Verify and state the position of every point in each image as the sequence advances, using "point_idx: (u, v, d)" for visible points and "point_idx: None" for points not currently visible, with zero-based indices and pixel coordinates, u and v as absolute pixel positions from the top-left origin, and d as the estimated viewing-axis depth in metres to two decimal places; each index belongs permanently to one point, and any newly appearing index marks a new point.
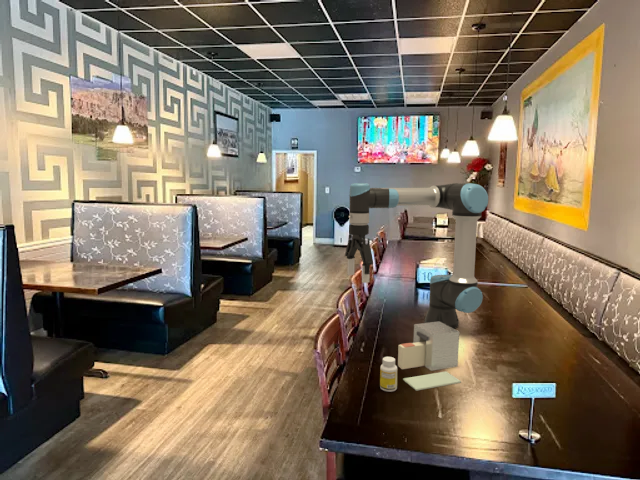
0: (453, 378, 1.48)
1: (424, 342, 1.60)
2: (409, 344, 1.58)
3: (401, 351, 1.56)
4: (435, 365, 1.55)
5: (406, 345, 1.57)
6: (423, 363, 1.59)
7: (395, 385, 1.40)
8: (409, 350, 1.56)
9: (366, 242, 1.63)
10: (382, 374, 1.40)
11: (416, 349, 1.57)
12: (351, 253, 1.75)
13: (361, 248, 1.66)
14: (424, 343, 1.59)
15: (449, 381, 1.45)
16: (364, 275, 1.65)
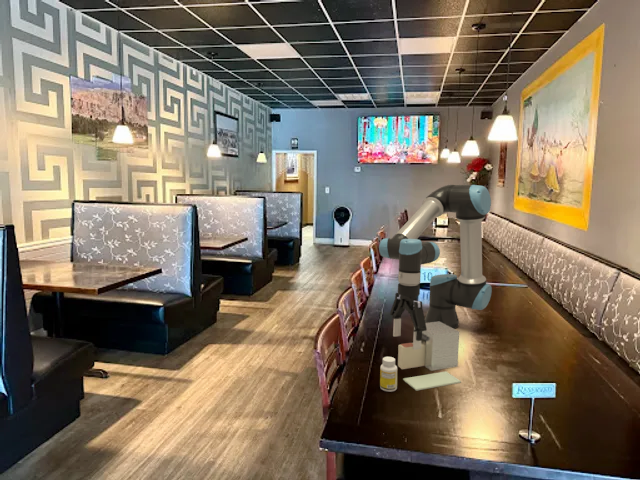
0: (453, 378, 1.48)
1: (424, 342, 1.60)
2: (409, 344, 1.58)
3: (401, 351, 1.56)
4: (435, 365, 1.55)
5: (406, 345, 1.57)
6: (423, 363, 1.59)
7: (395, 385, 1.40)
8: (409, 350, 1.56)
9: (418, 305, 1.48)
10: (382, 374, 1.40)
11: None
12: (398, 313, 1.60)
13: (412, 311, 1.51)
14: (424, 343, 1.59)
15: (449, 381, 1.45)
16: (416, 341, 1.49)
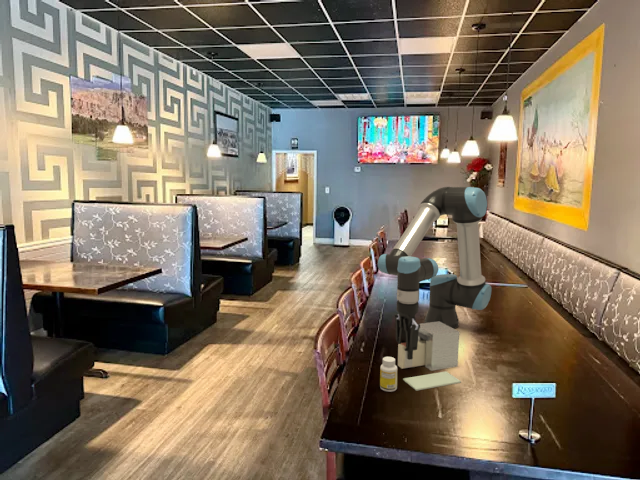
0: (453, 378, 1.48)
1: (424, 341, 1.60)
2: None
3: (401, 350, 1.56)
4: (435, 365, 1.55)
5: None
6: (423, 362, 1.59)
7: (395, 385, 1.40)
8: None
9: (416, 328, 1.50)
10: (382, 374, 1.40)
11: None
12: (402, 336, 1.58)
13: (408, 330, 1.54)
14: (424, 342, 1.59)
15: (449, 381, 1.45)
16: (407, 360, 1.55)
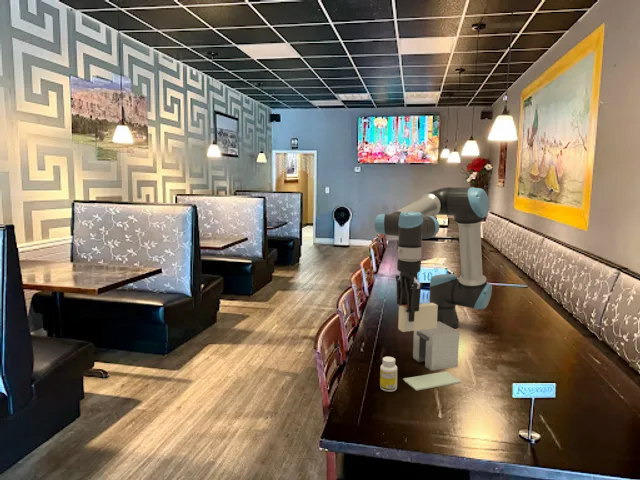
0: (453, 378, 1.48)
1: (426, 304, 1.50)
2: None
3: (401, 312, 1.46)
4: (435, 365, 1.55)
5: None
6: (425, 326, 1.48)
7: (395, 385, 1.40)
8: None
9: (417, 287, 1.40)
10: (382, 374, 1.40)
11: (417, 311, 1.47)
12: (403, 298, 1.48)
13: (409, 290, 1.44)
14: (426, 305, 1.49)
15: (449, 381, 1.45)
16: (408, 322, 1.45)
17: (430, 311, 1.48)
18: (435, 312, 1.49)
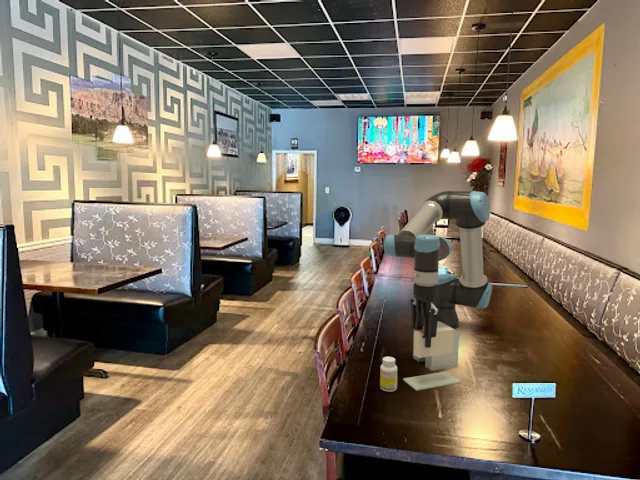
0: (453, 378, 1.48)
1: (442, 328, 1.46)
2: None
3: (418, 338, 1.42)
4: (435, 365, 1.55)
5: (423, 331, 1.42)
6: (441, 352, 1.45)
7: (395, 385, 1.40)
8: None
9: (435, 313, 1.36)
10: (382, 374, 1.40)
11: None
12: (419, 323, 1.44)
13: (426, 316, 1.40)
14: (443, 329, 1.45)
15: (449, 381, 1.45)
16: (424, 348, 1.41)
17: (447, 336, 1.45)
18: (451, 337, 1.45)
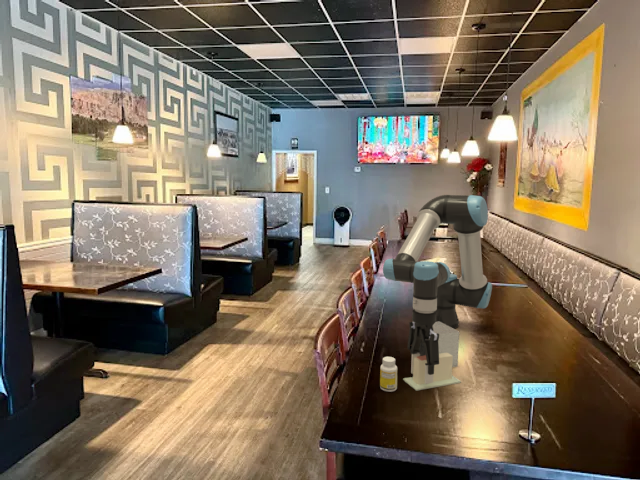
0: (453, 378, 1.48)
1: (441, 354, 1.47)
2: (425, 356, 1.45)
3: (417, 364, 1.43)
4: None
5: (422, 358, 1.44)
6: (440, 378, 1.46)
7: (395, 385, 1.40)
8: None
9: (435, 338, 1.37)
10: (382, 374, 1.40)
11: None
12: (415, 346, 1.47)
13: (426, 342, 1.40)
14: (441, 355, 1.46)
15: (449, 381, 1.45)
16: (427, 375, 1.40)
17: (446, 362, 1.46)
18: (450, 363, 1.47)
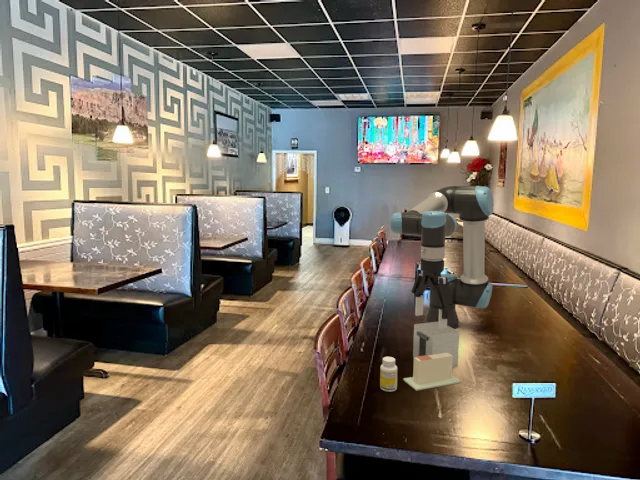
0: (453, 378, 1.48)
1: (441, 354, 1.47)
2: (425, 356, 1.45)
3: (417, 364, 1.43)
4: None
5: (422, 358, 1.44)
6: (440, 378, 1.46)
7: (395, 385, 1.40)
8: (426, 363, 1.43)
9: (444, 282, 1.39)
10: (382, 374, 1.40)
11: (433, 363, 1.44)
12: (420, 291, 1.51)
13: (437, 288, 1.42)
14: (441, 355, 1.46)
15: (449, 381, 1.45)
16: (441, 320, 1.40)
17: (446, 362, 1.46)
18: (450, 363, 1.47)
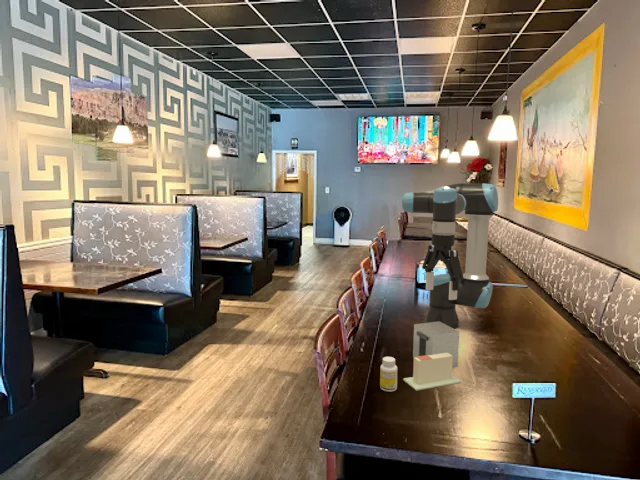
0: (453, 378, 1.48)
1: (441, 354, 1.47)
2: (425, 356, 1.45)
3: (417, 364, 1.43)
4: None
5: (422, 358, 1.44)
6: (440, 378, 1.46)
7: (395, 385, 1.40)
8: (426, 363, 1.43)
9: (454, 254, 1.45)
10: (382, 374, 1.40)
11: (433, 363, 1.44)
12: (431, 266, 1.57)
13: (447, 261, 1.48)
14: (441, 355, 1.46)
15: (449, 381, 1.45)
16: (452, 291, 1.46)
17: (446, 362, 1.46)
18: (450, 363, 1.47)
